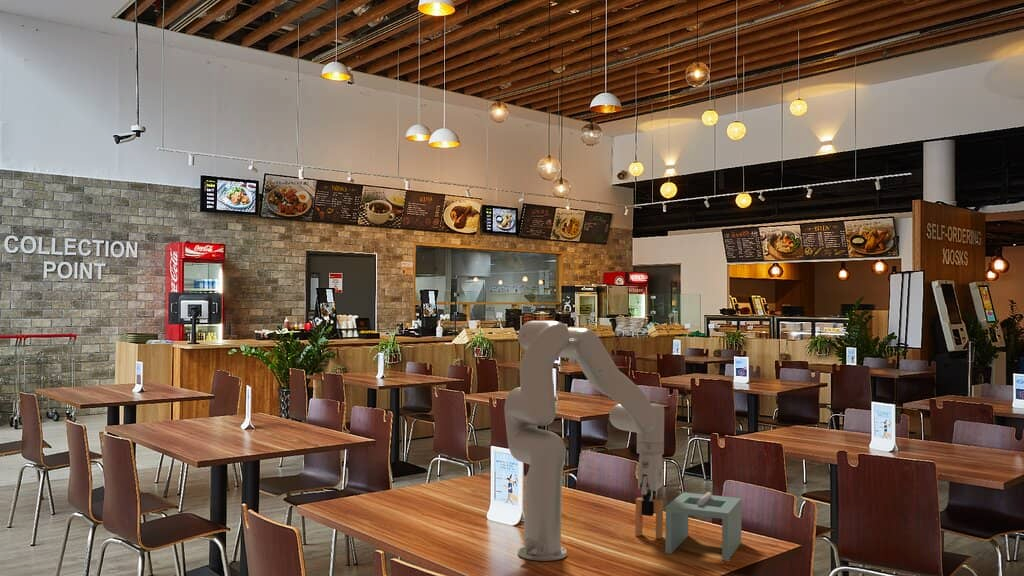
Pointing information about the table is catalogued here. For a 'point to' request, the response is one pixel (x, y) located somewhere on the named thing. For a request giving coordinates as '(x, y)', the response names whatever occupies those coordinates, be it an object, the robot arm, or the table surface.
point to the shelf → (682, 509)
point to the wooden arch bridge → (659, 517)
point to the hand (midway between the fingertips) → (649, 513)
